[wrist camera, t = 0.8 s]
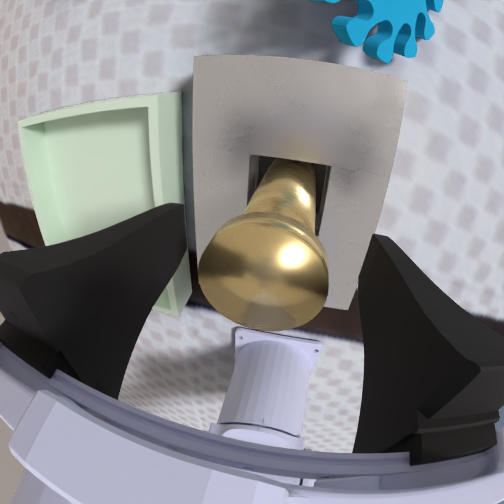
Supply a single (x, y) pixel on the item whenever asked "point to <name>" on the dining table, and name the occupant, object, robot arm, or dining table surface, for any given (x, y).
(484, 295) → the dining table surface
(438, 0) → the gear
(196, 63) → the pin bracket
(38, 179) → the parts tray
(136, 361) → the dining table surface
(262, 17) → the dining table surface
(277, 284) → the pin
